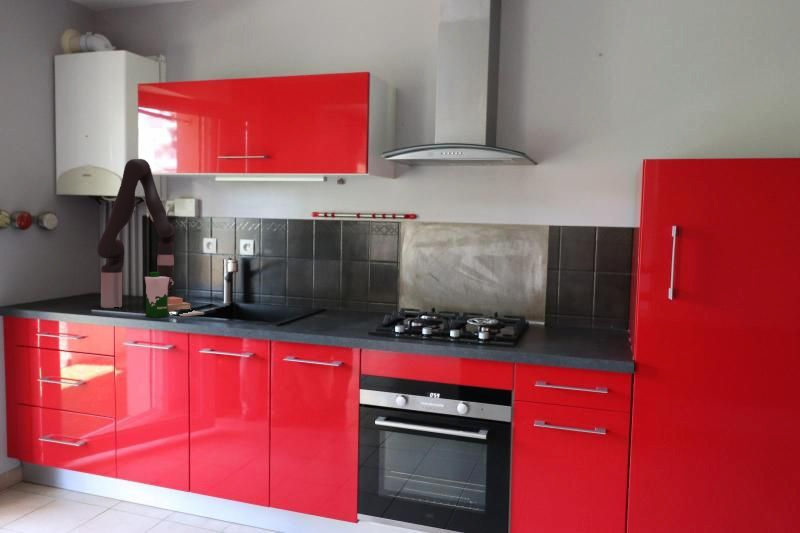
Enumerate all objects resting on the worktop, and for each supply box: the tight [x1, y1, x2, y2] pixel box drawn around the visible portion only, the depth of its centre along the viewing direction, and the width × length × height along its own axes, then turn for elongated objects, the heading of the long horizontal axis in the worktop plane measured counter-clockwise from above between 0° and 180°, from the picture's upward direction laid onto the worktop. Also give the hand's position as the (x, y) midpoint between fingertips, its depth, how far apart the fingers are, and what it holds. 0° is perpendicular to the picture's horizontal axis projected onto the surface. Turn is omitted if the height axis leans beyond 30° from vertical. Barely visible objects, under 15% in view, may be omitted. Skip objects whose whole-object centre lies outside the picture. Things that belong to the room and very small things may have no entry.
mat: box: [179, 310, 205, 317], centre depth 310 cm, size 11×12×1 cm
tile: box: [168, 296, 184, 304], centre depth 317 cm, size 8×6×2 cm
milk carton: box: [144, 271, 169, 319], centre depth 300 cm, size 9×9×20 cm
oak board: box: [168, 301, 191, 313], centre depth 317 cm, size 12×12×4 cm
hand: (165, 299), depth 321 cm, fingers closed
